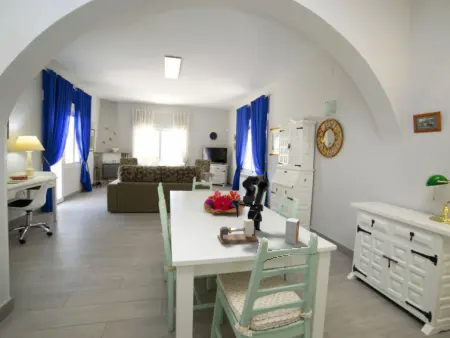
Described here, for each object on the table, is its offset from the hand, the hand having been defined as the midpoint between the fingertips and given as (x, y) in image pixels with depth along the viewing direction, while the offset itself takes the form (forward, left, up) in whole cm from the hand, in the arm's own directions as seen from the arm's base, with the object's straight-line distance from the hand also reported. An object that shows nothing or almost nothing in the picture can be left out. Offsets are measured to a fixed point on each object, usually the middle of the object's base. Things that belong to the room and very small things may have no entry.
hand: (244, 219), depth 141 cm
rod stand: (+4, 0, -12) cm, 13 cm away
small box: (-27, +8, -13) cm, 31 cm away
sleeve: (-2, 0, -8) cm, 9 cm away
